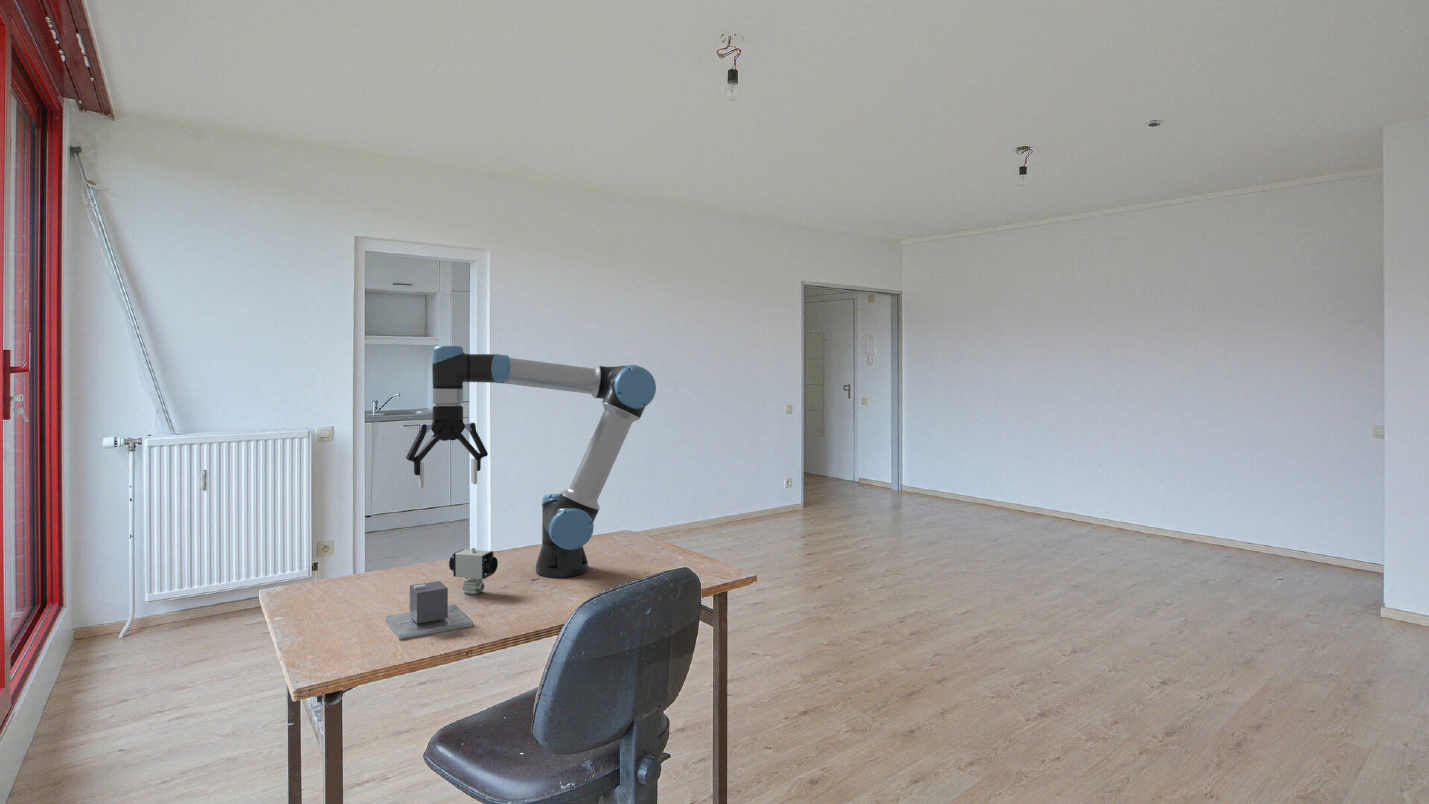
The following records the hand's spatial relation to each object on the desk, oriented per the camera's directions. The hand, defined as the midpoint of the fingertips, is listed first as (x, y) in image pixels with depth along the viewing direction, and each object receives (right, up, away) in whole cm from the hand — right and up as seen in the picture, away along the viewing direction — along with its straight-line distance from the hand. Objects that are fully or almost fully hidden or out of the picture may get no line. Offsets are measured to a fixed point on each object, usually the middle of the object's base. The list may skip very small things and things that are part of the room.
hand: (448, 485), depth 191 cm
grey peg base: (+3, -30, -22) cm, 37 cm away
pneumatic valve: (+6, -29, +2) cm, 30 cm away
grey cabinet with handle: (+3, -28, -22) cm, 36 cm away
